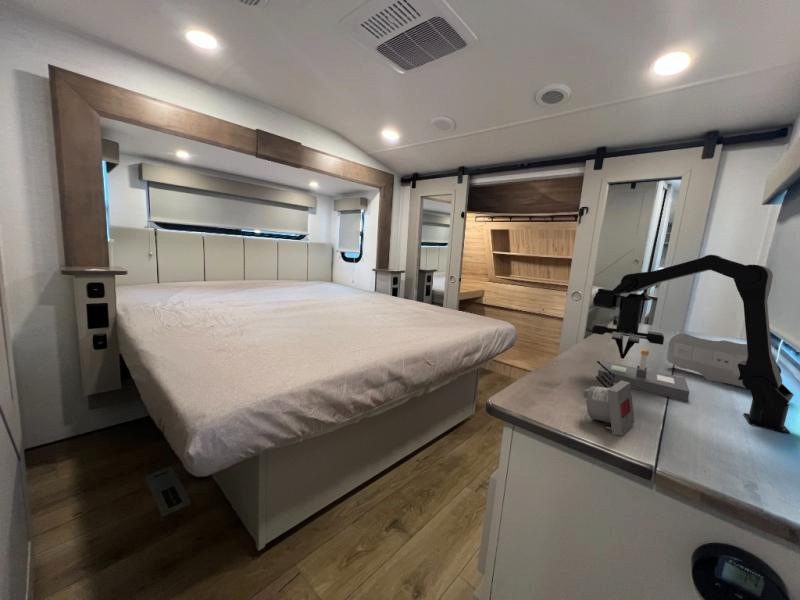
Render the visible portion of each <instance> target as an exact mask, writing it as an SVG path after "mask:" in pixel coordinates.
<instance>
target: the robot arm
mask: <svg viewBox="0 0 800 600" xmlns="http://www.w3.org/2000/svg"><path fill="white" fill-rule="evenodd" d="M707 271H712V272H714V273H718V274H721V275H722V276H726V277H728V278H731V279H733V281H734V284H735V286H736V290H737V292H738V294H739V296H740V297H741V300H742V303H743V304H742V305H743V313H744V314H743V315H744V325H745V339H746V344H747V351H748V357H747V361H742V362H740V363H739V364H738V369H739V372H740V377H739V379H738V380H742V383H743V385H744V386H743V387H744V388H745V389H747V390H748V391H749V392H750V394H751V397H752V400H751V404H750V409H749V413H746V412H743V416H744V418H745V419H746V422H747V423H748V424H749V425H754V426H757V427H761V428H764V429H768V430H774V431H777V432H781V433H784V434H789V435H790V434H791V431H790V430H789V429H788V428H787V427H786V425H785V423H786V419H787V415H788V411H789V408H790V405H789V403H790V401H791V400H792V398H793V397H794V393H793V392H792V391H791V390H789V389H788V387H787V386H785V384H783V379H782V375H781V374H780V372H779V370H778V367H777V365H778V364H777V365H776V363H777V362H776V363H775V361H776V360H775V361H774V359H773V356H774V355H773V353H772V352H773V350H772V341H771V331H770V330H771V329H770V318H769V308H768V307H769V306H768V299H769V296H770V292H771V288H772V282H773V276H774V275H773V274H774V273H773V272H772V270H771V269H770V268H768V267H766V266H763V265H759V264H743V263H740V262H736V261H733V260H730V259H727V258H724V257H722V256H720V255H717V254H708V255H707V254H706V255H704V256H703V257H699V258H696V259H693V260H688V261H686V262H681V263H677V264H674V265H671V266H668V267H664V268H660V269H657V270H652V271H651V270H650V271H642V272H635V273H629V274H625V275H624V276H622V278H621V280H620V283H619V284H618V285H616V287H614V288H613V289H607V288H602V287H601V288H598V289H597V292H596V293H595V296H594V297H593V300H592V304H593V306H594V308H599V309H605V310H611V311H614V310H616V309H617V308H619V310H618V315H614V316H613V320H612V326H616V328H613V327H609V325H608V324H605V323H604V324H603V323H598V322H596V323H595V324H594V325H592V328H591V333H592V334H595V335H601V336H602V335H604V334H606V333H607V334H611V340H614V341H615V343H616V346H617V348H618V353H619V356H620V359H622V360H624V359H625V358H626V356H627V355H628V353H629V351H630V350H631V349H632V347H633V346H634V345H635V344H640V340H641V339H642V340H647V341H648V342H649V343H650V344H656V345H664V343H665V335H664V334H663V333H662V332H657V331H649V330H648V331H647V333H646V332H639V327H640V320H641V312H642V307H643V301H644V302H645V301H652V297H650V296H649V295H648V294H647V292H643V291H646V290H648V289H650V288H653V287H654V286H657V285H659V284H661V283H663V282H664V283H665V282H668V281H669V282H670V281H673V280H677V279H681V278H684V277H687V276H692V275H697V274H700V273H704V272H707ZM633 292H634V293H633ZM637 292H641V293H640V294H639V293H637ZM623 294H628V295H623ZM624 336H625V337H628V338H627V341H626V344H625V347H624ZM772 355H773V356H772Z"/></svg>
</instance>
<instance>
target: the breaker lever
mask: <svg viewBox="0 0 800 600" xmlns="http://www.w3.org/2000/svg"><path fill="white" fill-rule="evenodd" d="M649 352H650V351H649V349H645V348H641V350H640V355H641V356H640V361H639V366H640V367H639V369H641V370H645V367H647V359H648V356H649Z"/></svg>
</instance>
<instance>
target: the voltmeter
mask: <svg viewBox="0 0 800 600" xmlns="http://www.w3.org/2000/svg"><path fill="white" fill-rule="evenodd" d="M597 364H599V366H602V367H603V368H604V369H605V368H606V367H604V366H603V365H602V363H601V361H599V360H597ZM605 370H606V371H607V372H608V373H610V374H611V375H612V373H611V372H610V371H609V370H608V369H607V368H606V369H605ZM603 374H604V375H605V374H606V373H605V372H604V373H603ZM606 377H607V378H608V379H609V380H611V378H609V376H608V375H607V374H606ZM614 377H615V375H614V374H613V378H614ZM595 378H596V379H597V380H598V382H600V384H601V385H602V386H603V387H601V386H595V385H594V386H593V385H592V386H590V387H587V388H586V389H584V390H583V391H582V393H583V399H584V398H585V399H586V409H587V414H588V416H589V418H590V419H591V420H594V421H600V422H606V423H609V424H610V426H611V427H610V426H606V427H605V429H607V430H611V435H615V436H623V435H624V434H625V433H626V432H627V431H628V430H629V429H630V428H631V427H632V426H633V425H634V423H635V417H634V416H635V415H634V407H633V405H634V403H633V396H632V388H631V386H630V382H626V381H622V380H621V381H620V382H618V383H611V382H607V380H606V379H604V377H603V376H602V375H601V378H602V379H603V380H604V382H603V380H600V379H599V378H598V375H596V376H595ZM613 381H614V379H613V380H612V382H613ZM605 382H606V383H607V385H608V386H610V387H608V386H607V385H606V384H605Z"/></svg>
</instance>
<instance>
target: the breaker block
mask: <svg viewBox="0 0 800 600" xmlns="http://www.w3.org/2000/svg"><path fill="white" fill-rule="evenodd" d="M601 364H602V365H603V366H604V367H606V368H607V369H608V370H609V371H610V372H611V373H612V375H611V374H610V373H608V372H607V371H606V370H605V369H606V368H605V369H604V368H603V367H602V366H601V365H599V369H598V370H597V371H598V372H597V377H598V378H599V379H600V380H601V381H602V382H603V381H604V380H603V379H602V378H601V375H602V376H603V377H604V379H606V380H607V382H609V383H610V384H611V383H612V384H614V383H618V382H620V381H621V380H622V381H626V382H630V386H631V389H635V390H640V391H644V392H649V393H652V394H656V395H661V396H665V397H668V398H671V399H677V400H680V401H684V402H688V401H689V396H690V388H689V386H688V383H687V380H686V378H685V377H683V376H679V375H678V376H677V375H672V374H669V373H668V374H667V373H663V372H658V371H653V370H648V367H647V366H645V370H641V369H639V367H640V364H639V365H637V366H635V367H634V366H630V365H625V364H620V363H615V362H611V361H607V360H602V363H601ZM604 372H605V373H606V374H607V375H608V376H609V378H611V380H609V379H608V378H607V377H606V374H605V375H604V374H603V373H604ZM613 374H614V375H615V377H614V378H613ZM613 379H614V381H613V382H612V380H613ZM604 382H605V381H604ZM607 382H606V383H607Z"/></svg>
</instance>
